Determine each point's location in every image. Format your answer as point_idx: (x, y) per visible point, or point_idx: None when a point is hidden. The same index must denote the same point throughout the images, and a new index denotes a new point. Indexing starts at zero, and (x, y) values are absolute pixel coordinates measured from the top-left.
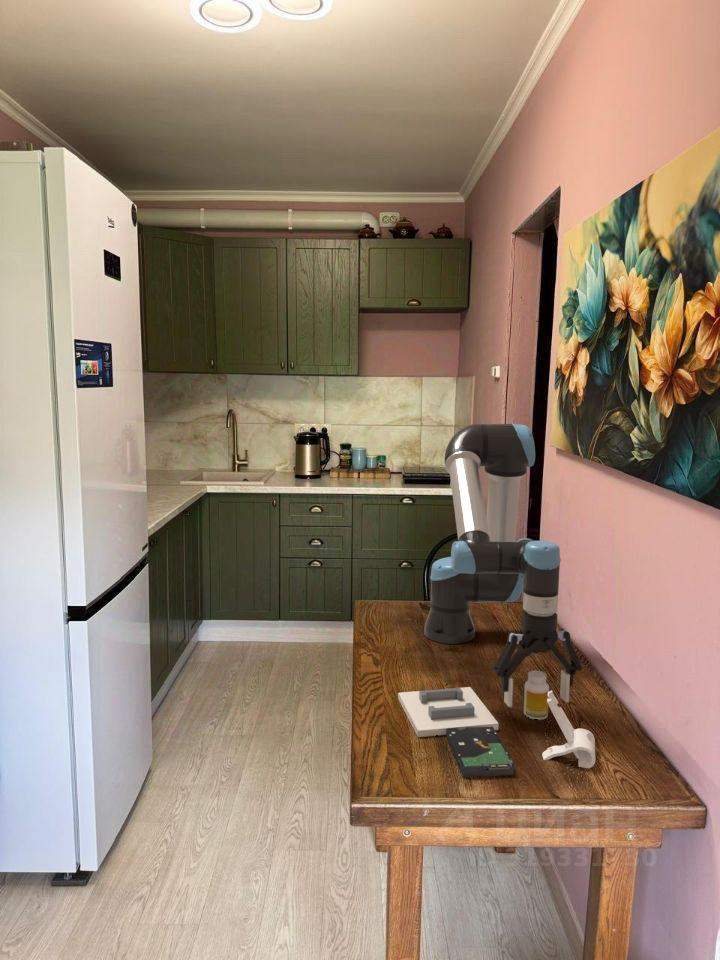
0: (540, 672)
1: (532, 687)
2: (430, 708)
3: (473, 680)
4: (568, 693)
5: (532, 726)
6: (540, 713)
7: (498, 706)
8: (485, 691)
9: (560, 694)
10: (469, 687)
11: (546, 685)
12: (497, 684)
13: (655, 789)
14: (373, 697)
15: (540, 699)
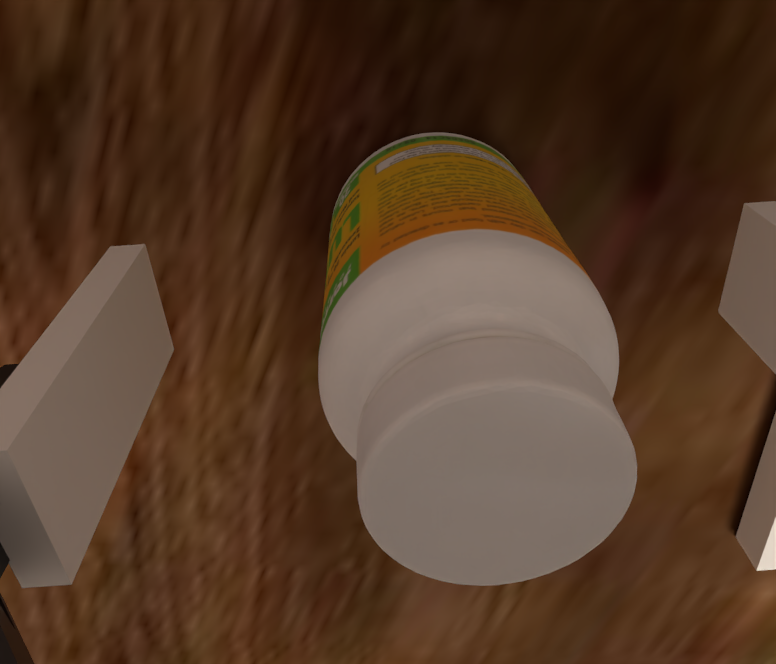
0: (422, 536)
1: (587, 311)
2: None
3: (624, 648)
4: (83, 292)
5: (557, 25)
6: (443, 148)
7: (655, 372)
8: (626, 546)
9: (164, 359)
10: (765, 565)
11: (374, 337)
12: (506, 608)
13: None
14: None
15: (472, 197)
